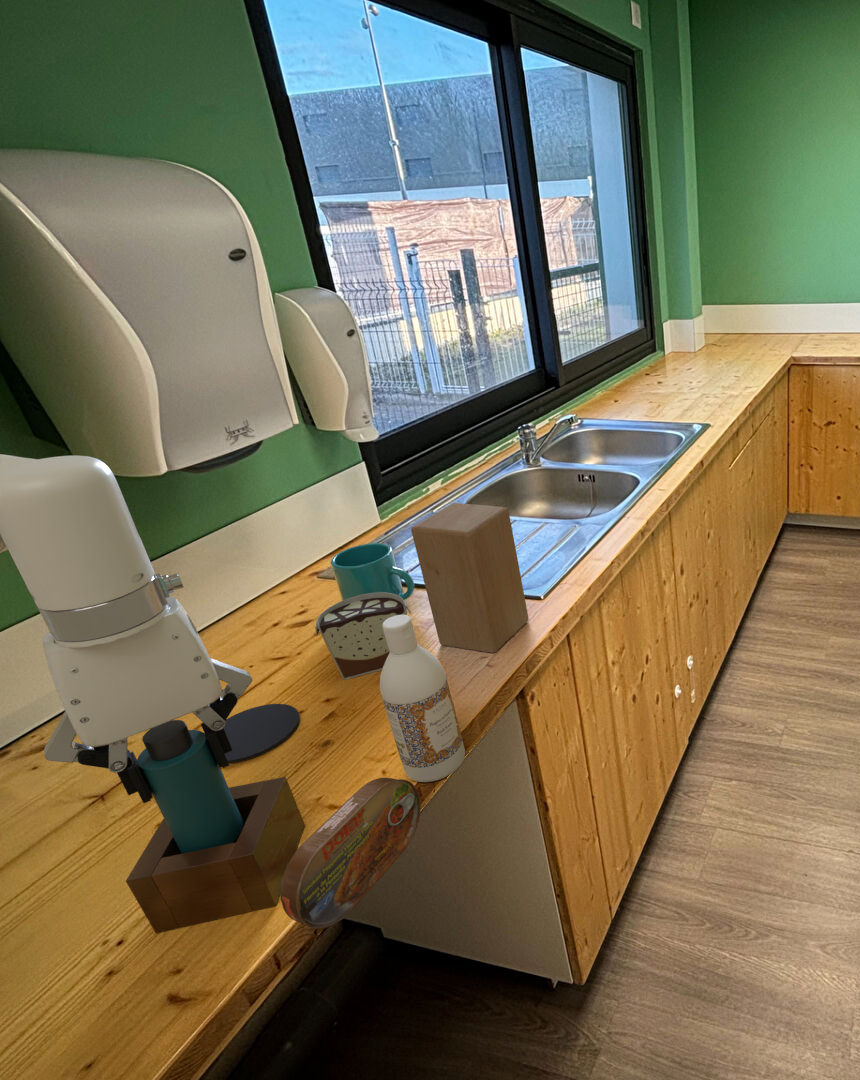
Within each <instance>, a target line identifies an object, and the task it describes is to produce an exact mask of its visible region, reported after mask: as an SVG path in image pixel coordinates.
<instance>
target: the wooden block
mask: <svg viewBox="0 0 860 1080" xmlns="http://www.w3.org/2000/svg"><path fill="white" fill-rule="evenodd" d="M410 531H411V535H412V539H413V543H414V547H415V550H416V551H415V552H416V556H417V558H418V563H419V567H420V571H421V575H422V579H423V582H424V587H425V590H426V594H427V595H426V596H427V598H428V602H429V605H430V610H431V614H432V618H433V622H434V627H435V630H436V634H437V638H438V642H439V644H440V645H441V646H444V647H445V646H446V647H450V648H451V647H452V648H457V649H465V650H469V651H470V650H471V651H475V652H482V653H488V652H490V654H494V653H496V652H498V650H499V649H501V648H502V646H503V645H505V644H506V643H507V642H508V641H509V640H510V639H511V638H512V637H514V635H515V634H516V633H517V632H518V631H520V630H521V628H523V626H525V625H526V623H528V622H529V614H528V607H527V603H526V602H527V601H526V596H525V592H524V591H525V590H524V585H523V580H522V575H521V570H520V565H519V559H518V554H517V553H518V552H517V547H516V543H515V537H514V533H513V532H514V531H513V527H512V522H511V516H510V511H509V508H508V507H506V506H497V505H496V506H494V505H483V504H474V503H473V504H472V503H462V502H461V503H460V502H453V503H450V504H449V505H447V506H446V507H444V508H442V509H441V510H439V511H437V512H435V513H434V514H432V515H430V516H428V517H427V518H425V519H422V520H421V521H420V522H417V524H415V525H413V526H411V528H410ZM527 621H528V622H527ZM509 638H510V639H509ZM506 641H507V642H506ZM505 642H506V643H505Z"/></svg>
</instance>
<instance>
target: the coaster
mask: <svg viewBox="0 0 860 1080" xmlns="http://www.w3.org/2000/svg"><path fill="white" fill-rule="evenodd" d="M225 722H226V725H225V727H224V731H225V733H226V736H227V738H228V740H229V743H230V745H231V748H232V751H230V752H228V753H225V757H226V759H227V761H228V764H229V765H230V764H235V763H236V764H237V763H240V762H245V761H249V760H251V759H254V758H258V757H259V756H261V755H265V754H266V753H268V752H270V751H272V750H274V749H275V748H277V747H279V746H280V745H282V744H283V743H285V742H286V741H287V740H288V739H289V738H290V737H292V735H293V734H294V733H295V732H296V730H297V729H298V727H299V725H300V722H301V716H300V713H299V710H297V708H296V707H294V706H292V705H290V704H286V703H269V704H268V703H267V704H263V705H258V706H254V707H251V708H247V709H245V710H242V711H240V712H238V713H236V714H234V715H232V716H229V717H228V718H227V719H226V721H225Z"/></svg>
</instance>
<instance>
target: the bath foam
mask: <svg viewBox="0 0 860 1080" xmlns="http://www.w3.org/2000/svg"><path fill="white" fill-rule="evenodd" d="M382 627H383V631H384V634H385V638H386V641H387V645H388V648H389V651H390V653H389V655H388V657H387V659H386V662H385V664H384V666H383V669H382V670H381V673H380V677H379V678H380V679H379V689H380V690H379V692H380V697H381V699H382V703H383V706H384V710H385V713H386V716H387V720H388V723H389V726H390V730H391V733H392V735H393V739H394V742H395V745H396V749H397V752H398V755H399V759H400V761H401V764H402V768H403V771H404V773H405V775H406V776H407V778H408V779H410V780H411V781H414V782H416V783H432V782H436V781H439V780H442V779H445V778H446V777H448V776H450V775H452V774H453V773H454V772H456V771H457V770H458V769H459V768H460V766H461V765H462V764H463V763H464V761H465V757H466V748H465V744H464V741H463V736H462V732H461V728H460V724H459V719H458V717H457V713H456V709H455V705H454V701H453V697H452V693H451V688H450V685H449V680H448V677H447V674H446V672H445V669H444V667H443V665H442V663H441V662H440V660H439V659H438V658H437V657H436V656H435V655H434V654H433V653H431V652H430V651H429V650H427V649H426V648H424V647H423V646H421V645H420V644H418V639H417V636H416V635H417V634H416V632H415V628H414V624H413V621H412V618H411V616H409V615H408V614H406V615H396V616H393V617H390V618H388V619H386V620H385V621H384V622H383V624H382Z"/></svg>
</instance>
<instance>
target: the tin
mask: <svg viewBox="0 0 860 1080" xmlns="http://www.w3.org/2000/svg"><path fill="white" fill-rule="evenodd" d="M421 805H422V804H421V797H420V793H419V790H418V788H417V786H415V784H414V783H412V782H411V781H410V780H408V779H403V778H399V779H398V778H393V777H378V778H375V779H372V780H370V781H368V782H366V783H364V784H363V785H362V786H361V787H360V788H359V789H358V790H356V792H354V794H352V795H351V796H350V797H349V798H348V799H347V801H345V802H344V803H343V804H342V805H341V806H340V807H339V808H338V809H337V810H336V811H335V812H334V813H333V814H332V815H331V816H330V817H328V819H326V821H325V822H324V823H323V824H322V825H321V826H319V827H318V828H317V829H316V830H315V832H313V833H312V834H311V835H310V836H309V837H308V838H307V839H306V840H305V841H304V842H303V843H302V844H301V845H300V846H299V847H297V849H296V852H295V854H294V855H293V857H292V858H291V860H290V862H289V863H288V865H287V868H286V870H285V873H284V875H283V879H282V883H281V888H280V896H279V898H280V901H281V904H282V908H283V911H284V912H285V914H286V915H287V916H288V917H289V918H290V919H291V920H293V921H295V922H297V923H299V924H301V925H303V924H304V925H306V926H307V927H308V928H311V929H315V930H323V929H326V928H330V927H332V926H334V925H336V924H338V923H340V922H341V921H342V920H344V919H345V918H346V917H347V916H348V915H349V914H350V913H352V911H353V910H354V909H355V908H356V907H357V906H358V904H359V903H360V902H361V901H362V900H363V899H364V898H365V896H366V895H367V894H368V893H369V892H370V890H371V889H373V887H374V886H375V885H376V884H377V883H378V881H379V880H380V879H381V878H382V877H383V876H384V874H386V873H387V871H388V870H389V869H390V868H391V867H392V865H394V863H395V862H396V861H397V860H398V859H399V858H400V857H401V855H402V854H403V853H404V852H405V851H406V849H407V848H408V847H409V845H410V844H411V841H412V840H413V838H414V836H415V834H416V832H417V829H418V827H419V822H420V818H421V811H422V810H421V809H422V807H421Z"/></svg>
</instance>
